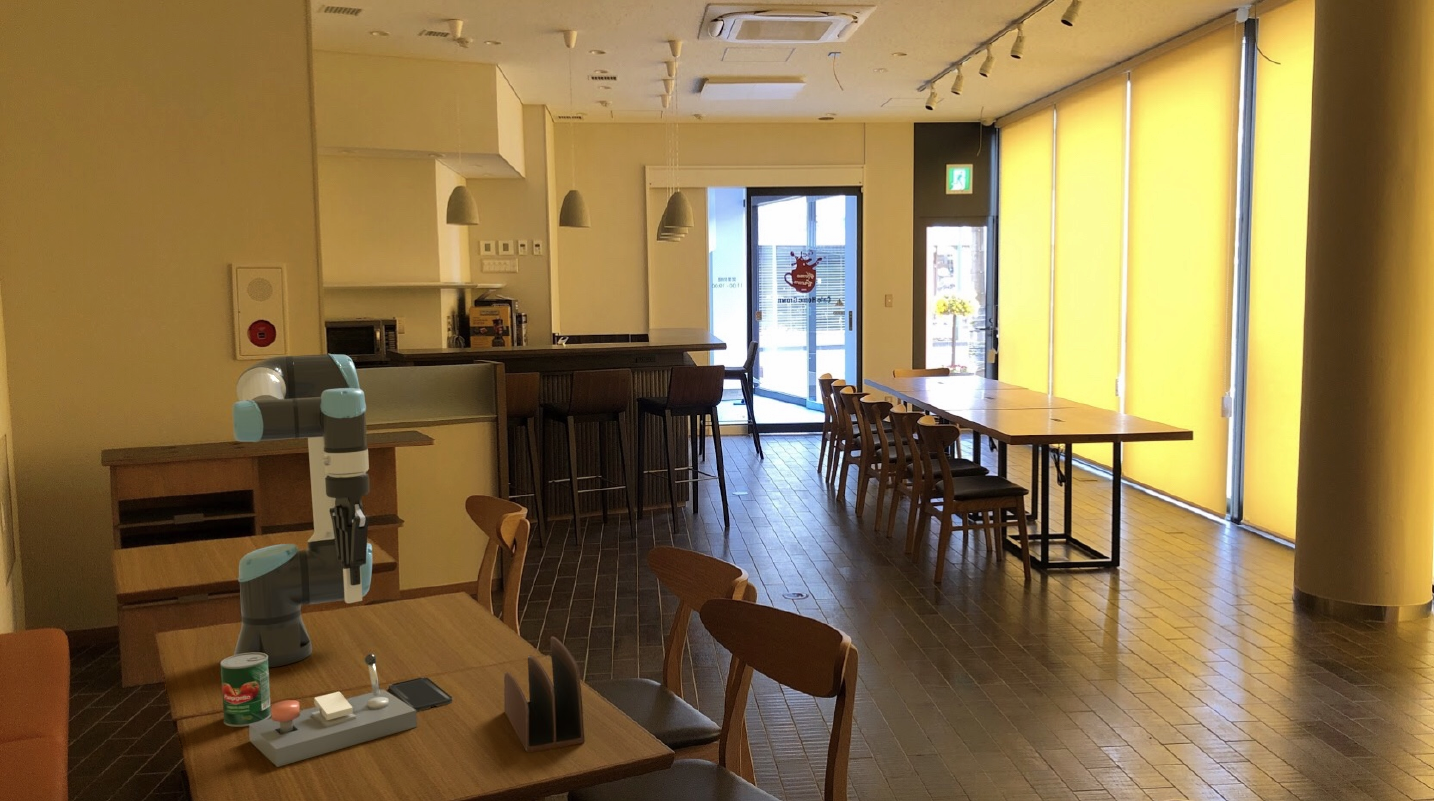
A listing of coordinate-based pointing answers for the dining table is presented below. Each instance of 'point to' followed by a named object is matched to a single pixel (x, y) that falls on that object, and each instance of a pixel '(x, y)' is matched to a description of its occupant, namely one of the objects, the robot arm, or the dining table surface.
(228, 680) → the canned tomato
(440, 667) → the dining table surface
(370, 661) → the toggle lever
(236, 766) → the dining table surface
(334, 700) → the rocker switch
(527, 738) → the letter holder
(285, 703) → the push button
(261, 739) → the control panel
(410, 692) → the phone
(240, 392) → the robot arm
